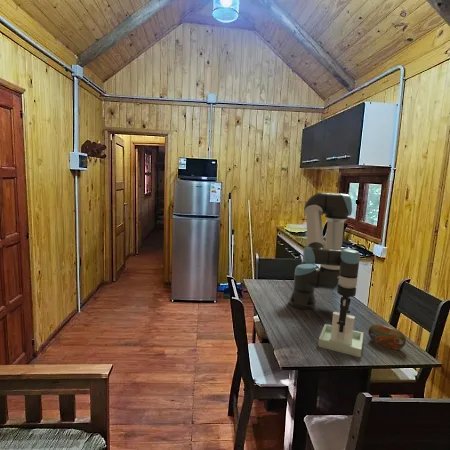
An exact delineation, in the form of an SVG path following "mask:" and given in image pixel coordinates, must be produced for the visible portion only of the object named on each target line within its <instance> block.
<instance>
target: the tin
mask: <svg viewBox="0 0 450 450" xmlns="http://www.w3.org/2000/svg"><path fill="white" fill-rule="evenodd" d="M368 336H369V338H370V340H371V341H372V342H374V343H375V344H378V345H380V346H384V347H387V348H389V349H392V350H394V351H399V350H401V349H403V348H404V346H405V345H406V344H407V343H406V342H407V340H406V337H405V334H404V333H403V332H402V331H400V330H399V329H395V328H392V327H389V326H387V325H383V324H380V323H375V324H372V325H371V326H370V327H369V328H368Z"/></svg>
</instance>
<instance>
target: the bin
mask: <svg viewBox="0 0 450 450" xmlns="http://www.w3.org/2000/svg"><path fill="white" fill-rule="evenodd" d="M331 329H332V324H327V323H324V326H322V330H321V332H320V334H319V337H318V340H317V341H318V343H317V347H318V348H319V347H320V348H322V349H327V350H330V351H334V352H338V353H341V354H346V355H350V356H353V357H357V358H361V356H362V349H363V341H364V339H363V338H364V332H363V331H358V330H354V329H353V338H352V344H351V345H346V344H342V343H338V342H334V341H331Z"/></svg>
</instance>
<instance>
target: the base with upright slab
mask: <svg viewBox="0 0 450 450" xmlns="http://www.w3.org/2000/svg"><path fill="white" fill-rule="evenodd" d="M347 314H348V313H347ZM347 314H346V321H345V334H344V340H342V339H338V338H337V333H338V324H337V322H339V316H340V312H339V311H333V312H332V320H331V321H332V322H331V325H332V329H331V341H334V342H338V343H342V344H346V345H351V344H352V338H353V330H354V328H355V320H356V316H354V315H351V314H348V315H347ZM340 322H341V321H340Z"/></svg>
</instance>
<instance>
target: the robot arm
mask: <svg viewBox="0 0 450 450" xmlns="http://www.w3.org/2000/svg"><path fill="white" fill-rule="evenodd" d="M304 204H305V205H304V209H303V214H304V215H305V218H306V240H307V241H306V243H307V244H306V245H307V246H305V247H304V248H303V252H302V253H303V254H302V261H303V262H304V263H300V264H298V265H297V266H296V267H295V269H294V277H293V278H294V280H293V288H292V289H293V290H292V293H291V294H290V297H289V301H288V303H289V305H291V306H292V307H295V308H297V309H301V310H312V309H315V308H316V307H317V299H316V295H315V289H320V290H321V289H322V290H329V291H336V293H337V294H338V295H340V298H339V299H340V301H339V302H340V303H339V304H340V306H339V308H340V309H339V313H340V316H339V322H337V324H338V333H337V338H338V339H342V340H344V334H345V321H346V314H347V315H349V314H351V311H350V305H351V301H352V299H351V298H352V297H355V296H356V293H357V287H358V276H359V267H360V260H361V255H360V254H361V253H360V252H359V251H358V250H355V249H349V248H347V249H346V248H343V247H342V245H343V235H344V227H345V222H346V221H348V217H350V216H351V215H352V212H353V202H352V199H351V195H349V194H348V193H347V194H346V193H342V192H341V193H335V192H334V193H332V192H318V193H315V194H313V195H312V196H310V197H309V198H308V199H307V201H306V202H305V203H304ZM322 215H325V216H324V217H325V218H324V219H326V220H327V227H326V234H325V235H326V236H325V244H324V234H323V233H324V232H323V222H322ZM317 265H320V266H319V267H318V266H317ZM340 321H341V322H340Z"/></svg>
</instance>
